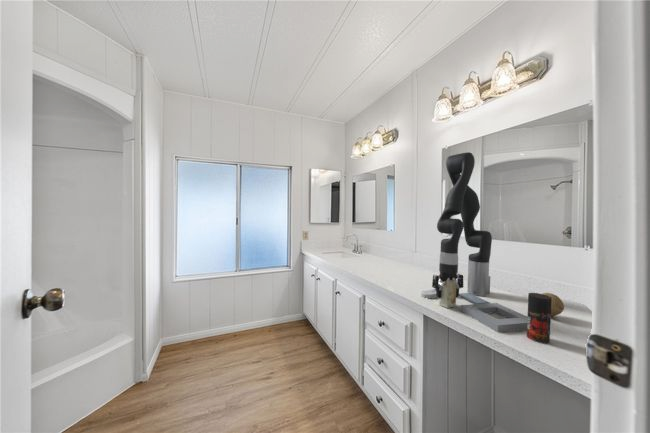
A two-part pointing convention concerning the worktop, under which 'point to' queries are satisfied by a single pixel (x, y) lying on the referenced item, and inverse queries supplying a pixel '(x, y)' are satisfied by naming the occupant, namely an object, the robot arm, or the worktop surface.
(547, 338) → the deodorant
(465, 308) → the plate
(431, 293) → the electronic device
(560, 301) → the natural sponge
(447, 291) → the skincare box
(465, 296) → the plate
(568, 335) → the worktop surface
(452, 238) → the robot arm
